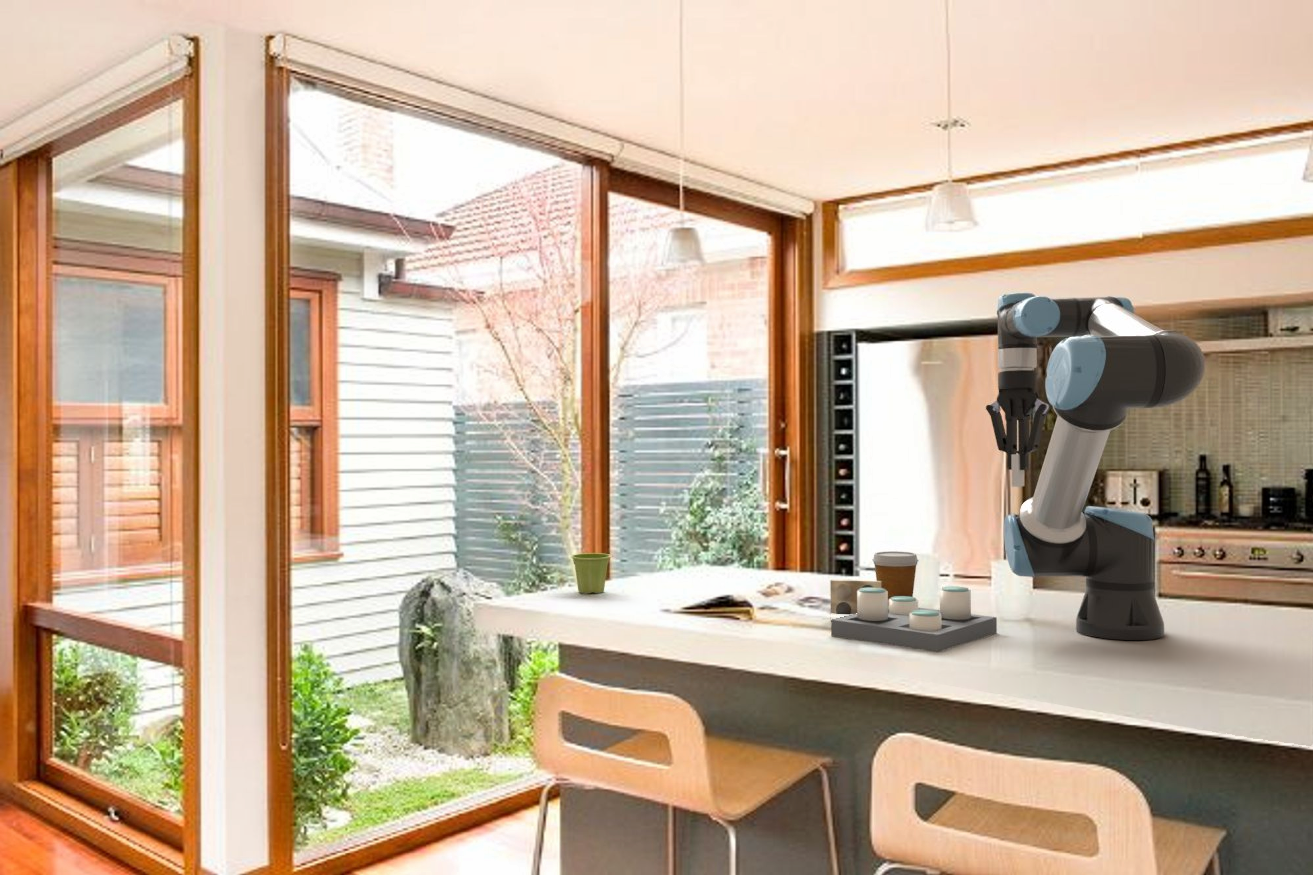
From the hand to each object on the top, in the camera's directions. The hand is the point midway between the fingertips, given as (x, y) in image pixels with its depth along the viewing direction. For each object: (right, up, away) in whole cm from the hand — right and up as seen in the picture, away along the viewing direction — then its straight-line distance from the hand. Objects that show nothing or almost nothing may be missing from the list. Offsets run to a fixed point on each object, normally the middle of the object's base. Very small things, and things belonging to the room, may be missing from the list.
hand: (1018, 486), depth 220 cm
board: (-25, -27, -18) cm, 41 cm away
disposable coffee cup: (-23, -27, +8) cm, 36 cm away
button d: (-33, -24, -18) cm, 45 cm away
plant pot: (-89, -27, +37) cm, 100 cm away
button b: (-26, -27, -10) cm, 38 cm away
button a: (-18, -24, -18) cm, 34 cm away
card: (-34, -27, -3) cm, 43 cm away
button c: (-25, -27, -26) cm, 45 cm away
